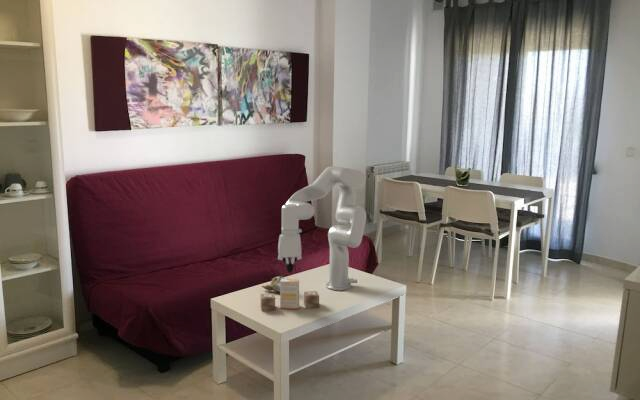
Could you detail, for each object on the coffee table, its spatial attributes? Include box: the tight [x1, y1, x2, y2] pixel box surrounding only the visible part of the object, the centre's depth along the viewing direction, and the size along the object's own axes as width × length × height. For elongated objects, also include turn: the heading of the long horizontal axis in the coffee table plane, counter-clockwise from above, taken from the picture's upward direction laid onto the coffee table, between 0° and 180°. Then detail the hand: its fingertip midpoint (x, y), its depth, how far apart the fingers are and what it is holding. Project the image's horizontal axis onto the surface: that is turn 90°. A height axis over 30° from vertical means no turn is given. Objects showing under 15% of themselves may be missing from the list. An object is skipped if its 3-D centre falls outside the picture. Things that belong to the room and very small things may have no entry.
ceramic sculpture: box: [261, 274, 285, 293], centre depth 267 cm, size 11×9×15 cm
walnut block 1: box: [259, 292, 276, 312], centre depth 245 cm, size 6×6×6 cm
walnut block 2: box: [303, 290, 320, 309], centre depth 249 cm, size 6×6×6 cm
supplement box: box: [279, 277, 300, 310], centre depth 247 cm, size 8×5×13 cm, turn 84°
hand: (289, 271), depth 245 cm, fingers closed
